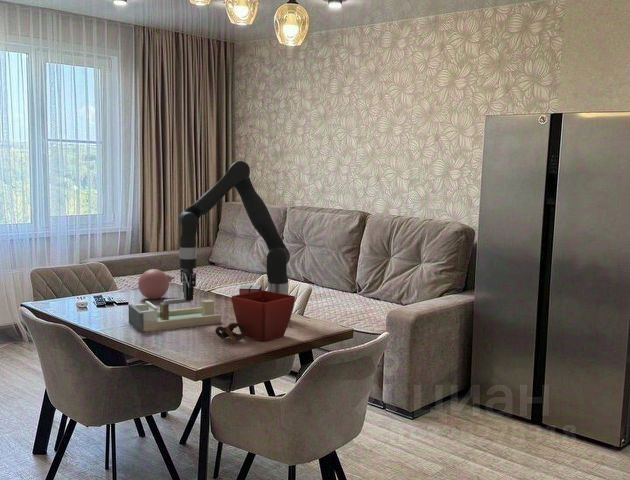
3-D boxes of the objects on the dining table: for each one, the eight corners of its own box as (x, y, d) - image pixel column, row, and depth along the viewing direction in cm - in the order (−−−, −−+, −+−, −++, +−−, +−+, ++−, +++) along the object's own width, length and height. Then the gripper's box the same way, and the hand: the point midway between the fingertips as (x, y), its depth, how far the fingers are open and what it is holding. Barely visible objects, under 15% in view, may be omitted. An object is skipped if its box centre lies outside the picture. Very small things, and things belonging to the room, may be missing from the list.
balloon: (182, 298, 329) (182, 269, 327) (147, 303, 315) (147, 272, 313) (167, 293, 340) (167, 265, 338) (133, 298, 326) (132, 268, 325)
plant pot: (262, 327, 274) (263, 289, 272) (295, 336, 262) (296, 296, 260) (229, 336, 259) (230, 296, 257) (263, 345, 247) (264, 303, 245)
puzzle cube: (259, 309, 308) (259, 289, 307) (239, 308, 308) (239, 288, 307) (261, 304, 318) (261, 285, 317) (241, 304, 318) (242, 284, 317)
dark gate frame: (193, 317, 281) (193, 281, 279) (163, 320, 274) (163, 284, 272) (190, 315, 285) (189, 280, 283) (159, 318, 278) (159, 282, 276)
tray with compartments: (221, 322, 281) (221, 302, 279) (139, 332, 262) (139, 310, 261) (206, 313, 296) (206, 294, 295) (128, 322, 278) (128, 301, 276)
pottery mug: (242, 337, 259) (247, 323, 255) (241, 354, 251) (246, 339, 247) (213, 331, 256) (218, 316, 252) (211, 347, 248) (216, 332, 244)
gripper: (201, 258, 274) (202, 296, 276) (190, 254, 287) (190, 290, 289) (185, 259, 271) (185, 298, 273) (174, 255, 283) (174, 292, 285)
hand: (188, 294), depth 281 cm, fingers open, 6 cm apart
